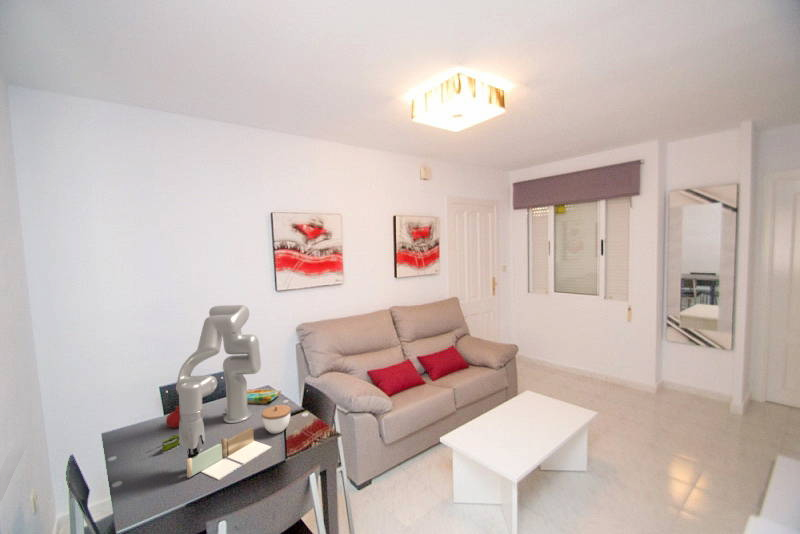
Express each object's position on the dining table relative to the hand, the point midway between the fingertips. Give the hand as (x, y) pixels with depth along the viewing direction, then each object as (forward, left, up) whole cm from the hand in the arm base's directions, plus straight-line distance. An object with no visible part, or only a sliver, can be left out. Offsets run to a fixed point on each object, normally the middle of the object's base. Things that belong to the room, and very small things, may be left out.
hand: (193, 462), depth 134 cm
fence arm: (+4, +2, -2) cm, 5 cm away
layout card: (+5, +12, -3) cm, 13 cm away
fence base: (+4, +16, -2) cm, 17 cm away
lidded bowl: (+5, +36, -3) cm, 37 cm away
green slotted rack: (-25, +4, -3) cm, 25 cm away
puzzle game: (-31, +56, -3) cm, 64 cm away
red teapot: (-43, +18, -3) cm, 47 cm away
